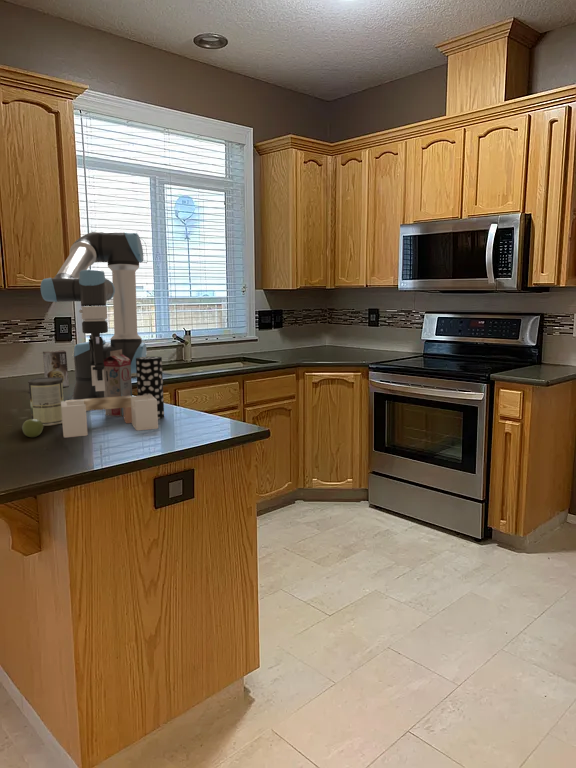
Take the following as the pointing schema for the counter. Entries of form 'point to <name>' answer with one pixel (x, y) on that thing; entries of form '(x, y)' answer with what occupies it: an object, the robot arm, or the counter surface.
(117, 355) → the juice carton
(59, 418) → the coffee can
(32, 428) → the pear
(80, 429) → the end caps
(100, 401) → the birch slat
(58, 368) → the coffee box
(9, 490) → the counter surface
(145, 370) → the spotted tube
